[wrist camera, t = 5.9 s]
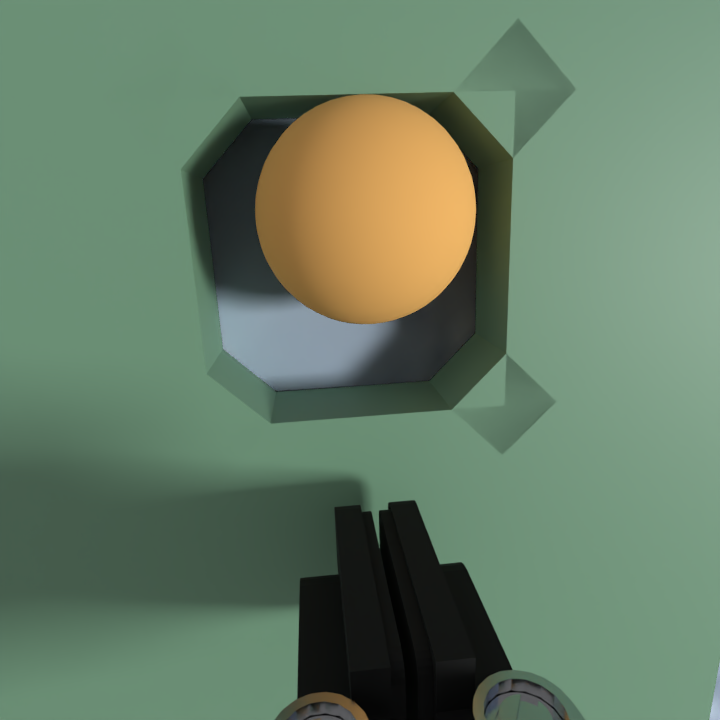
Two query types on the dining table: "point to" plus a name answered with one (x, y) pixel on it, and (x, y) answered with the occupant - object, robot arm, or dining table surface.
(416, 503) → the robot arm
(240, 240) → the dining table surface
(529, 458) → the putting board
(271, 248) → the ball
